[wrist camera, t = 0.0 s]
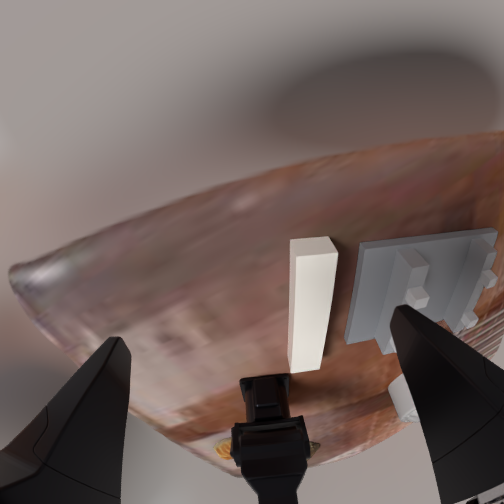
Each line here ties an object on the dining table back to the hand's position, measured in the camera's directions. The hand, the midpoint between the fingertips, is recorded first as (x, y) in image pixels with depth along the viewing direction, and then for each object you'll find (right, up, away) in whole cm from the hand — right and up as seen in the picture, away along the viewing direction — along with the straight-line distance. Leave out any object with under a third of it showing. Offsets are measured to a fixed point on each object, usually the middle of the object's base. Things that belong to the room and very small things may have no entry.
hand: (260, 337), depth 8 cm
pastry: (-4, -37, +40) cm, 55 cm away
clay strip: (+5, -3, +20) cm, 21 cm away
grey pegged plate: (+20, -1, +19) cm, 28 cm away
